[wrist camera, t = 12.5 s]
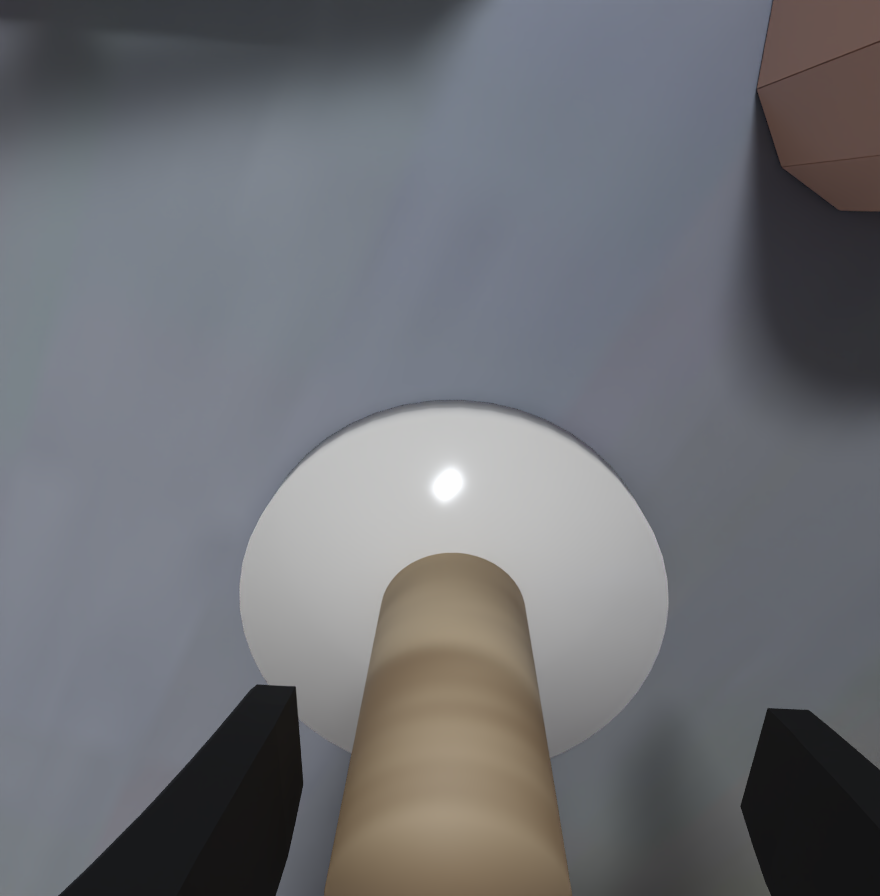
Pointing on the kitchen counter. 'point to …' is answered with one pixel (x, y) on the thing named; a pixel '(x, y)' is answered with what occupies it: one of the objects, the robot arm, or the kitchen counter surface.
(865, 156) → the sleeve
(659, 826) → the kitchen counter surface
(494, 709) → the peg
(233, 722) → the robot arm
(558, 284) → the kitchen counter surface
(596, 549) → the white glossy domed part
